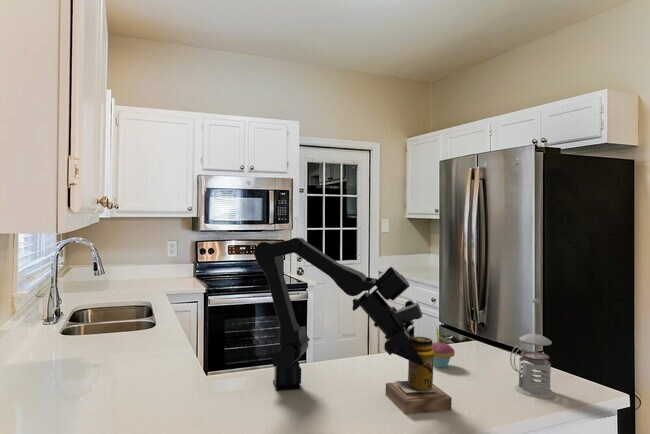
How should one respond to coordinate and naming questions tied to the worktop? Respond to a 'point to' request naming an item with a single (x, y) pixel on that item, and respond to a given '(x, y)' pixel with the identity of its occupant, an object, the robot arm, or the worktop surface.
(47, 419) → the worktop surface
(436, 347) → the cupcake
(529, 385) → the french press
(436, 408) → the walnut base
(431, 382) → the condiment
